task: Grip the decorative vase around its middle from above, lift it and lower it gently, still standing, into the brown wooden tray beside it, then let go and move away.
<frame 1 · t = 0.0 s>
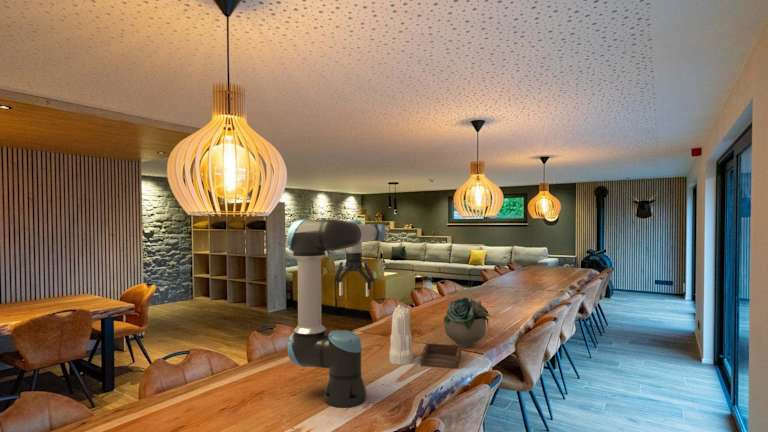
hand: (354, 295, 199), 28 cm above the table, tool pointing down, fingers open, 13 cm apart
flower arrangement: (465, 345, 210), on the table
decorative vase: (401, 361, 187), on the table
brown wooden tray: (441, 360, 186), on the table
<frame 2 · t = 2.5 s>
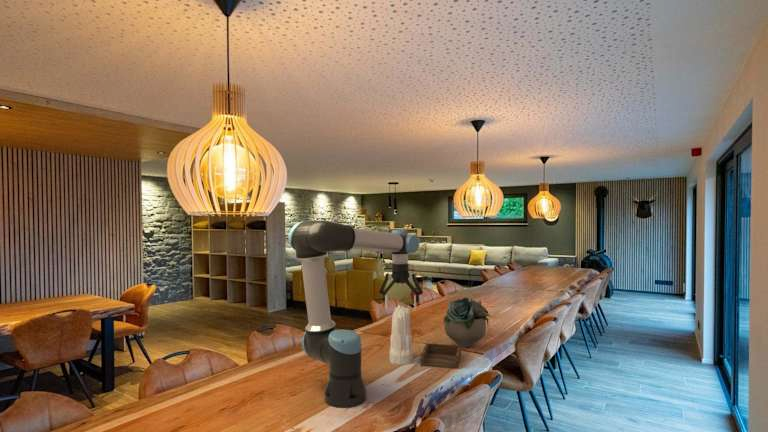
hand: (401, 309, 188), 24 cm above the table, tool pointing down, fingers open, 13 cm apart
nothing on the table moved.
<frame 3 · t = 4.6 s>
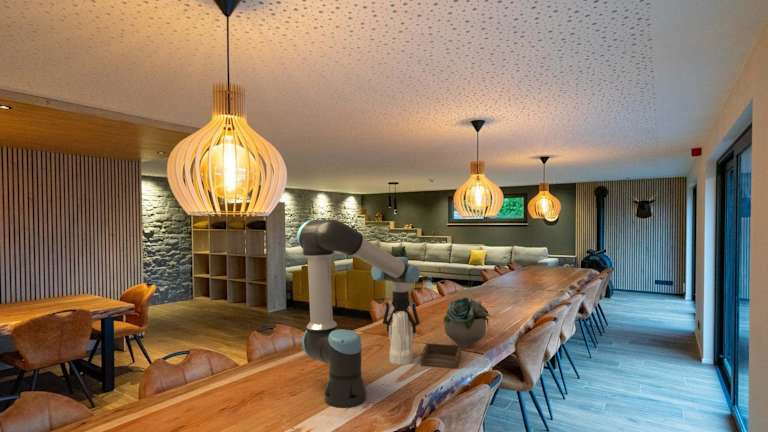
hand: (401, 339, 187), 10 cm above the table, tool pointing down, fingers closed on decorative vase, 9 cm apart
decorative vase: (401, 361, 187), on the table, touching gripper
everything else where it was.
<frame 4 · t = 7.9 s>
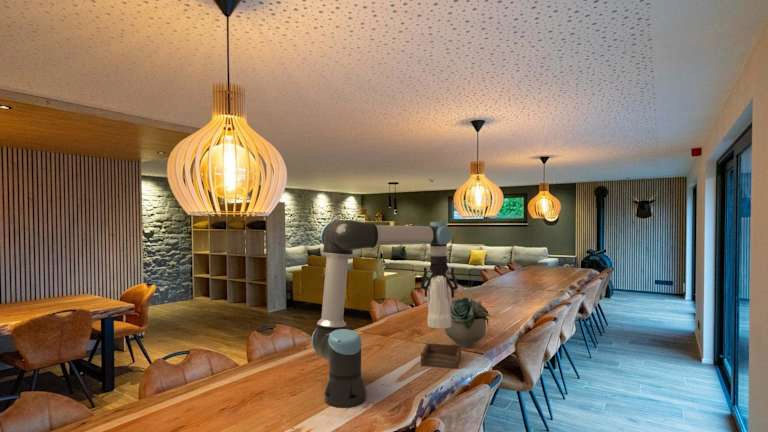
hand: (439, 304, 186), 26 cm above the table, tool pointing down, fingers closed on decorative vase, 9 cm apart
decorative vase: (439, 326, 186), point 16 cm above the table, touching gripper
everything else where it was.
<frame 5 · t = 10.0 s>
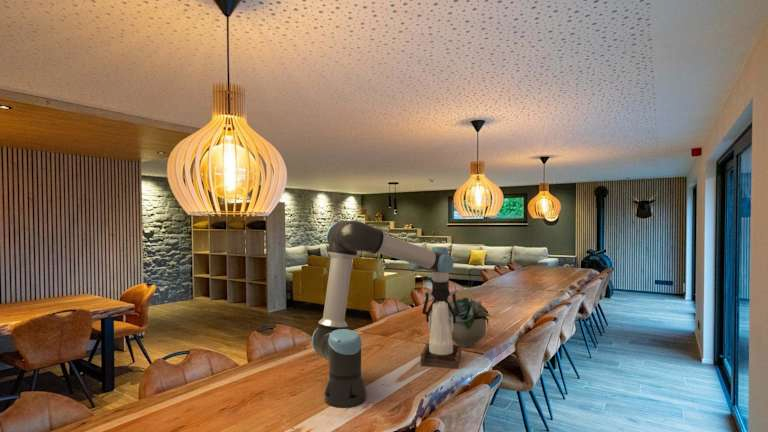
hand: (441, 329, 186), 14 cm above the table, tool pointing down, fingers closed on decorative vase, 9 cm apart
decorative vase: (441, 351, 186), point 4 cm above the table, touching gripper
everything else where it was.
when the fingers open (12 cm above the table, at t = 11.5 s): decorative vase drops 1 cm, resting on brown wooden tray.
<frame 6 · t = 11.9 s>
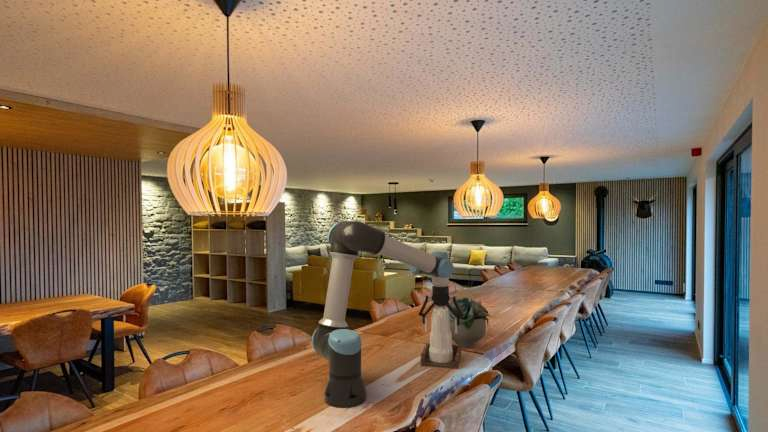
hand: (441, 332, 186), 13 cm above the table, tool pointing down, fingers open, 13 cm apart
decorative vase: (440, 359, 186), point 1 cm above the table, touching brown wooden tray
everything else where it was.
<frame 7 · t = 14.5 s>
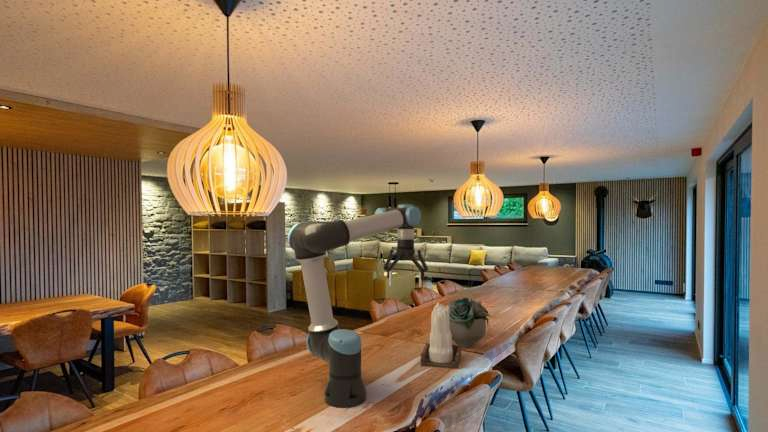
hand: (405, 286, 183), 35 cm above the table, tool pointing down, fingers open, 13 cm apart
nothing on the table moved.
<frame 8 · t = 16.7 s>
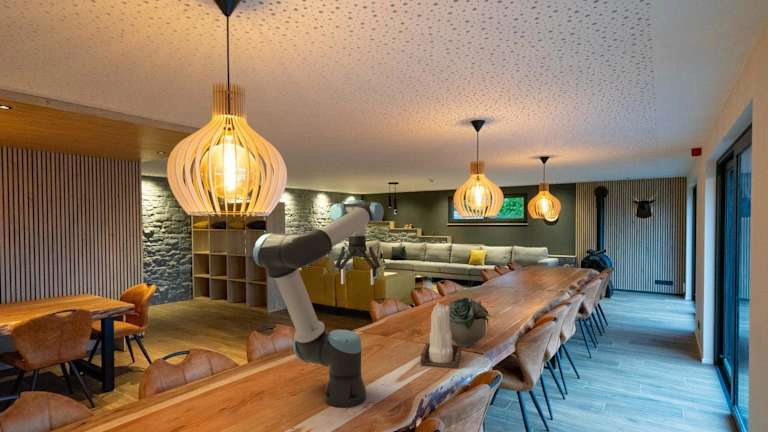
hand: (357, 284, 178), 37 cm above the table, tool pointing down, fingers open, 13 cm apart
nothing on the table moved.
at the end: decorative vase inside the target area on the brown wooden tray (0.3 cm from its centre), point 0.8 cm above the brown wooden tray's base; decorative vase tilted 0°; the gripper is holding nothing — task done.
